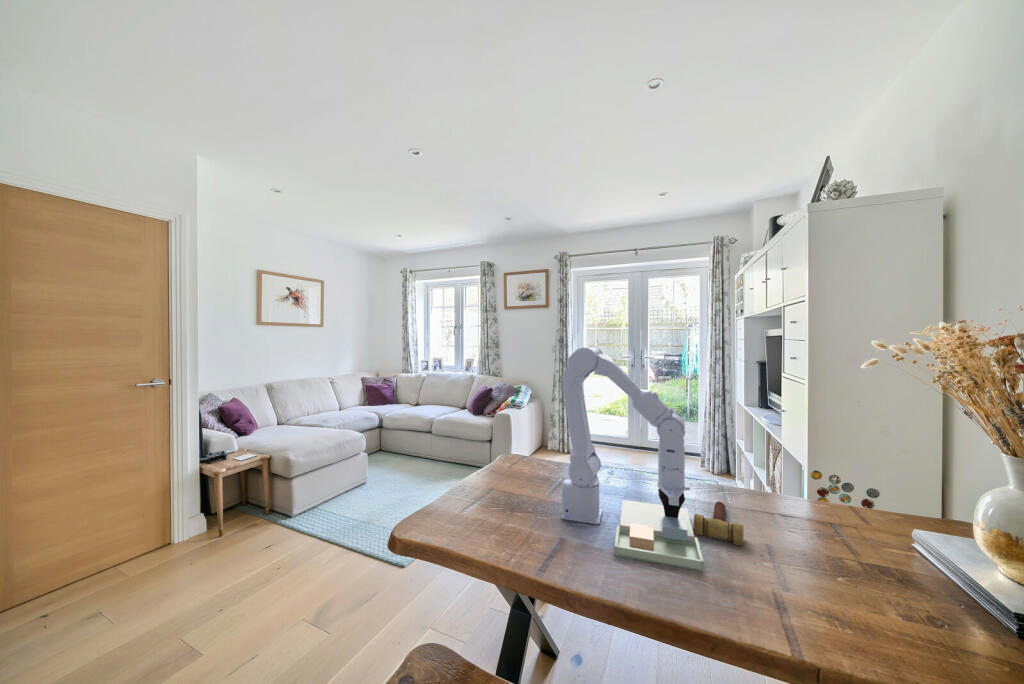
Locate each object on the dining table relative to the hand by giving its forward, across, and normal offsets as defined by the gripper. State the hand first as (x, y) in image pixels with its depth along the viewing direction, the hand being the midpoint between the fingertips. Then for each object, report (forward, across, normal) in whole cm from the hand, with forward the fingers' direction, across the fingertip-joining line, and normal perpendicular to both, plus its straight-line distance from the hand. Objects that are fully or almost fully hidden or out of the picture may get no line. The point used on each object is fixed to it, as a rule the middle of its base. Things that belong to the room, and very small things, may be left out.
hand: (671, 522), depth 88 cm
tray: (+3, -8, +4) cm, 10 cm away
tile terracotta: (+2, -7, +7) cm, 10 cm away
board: (+3, +3, +4) cm, 6 cm away
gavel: (+3, +10, -12) cm, 16 cm away
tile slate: (+1, -4, 0) cm, 4 cm away
